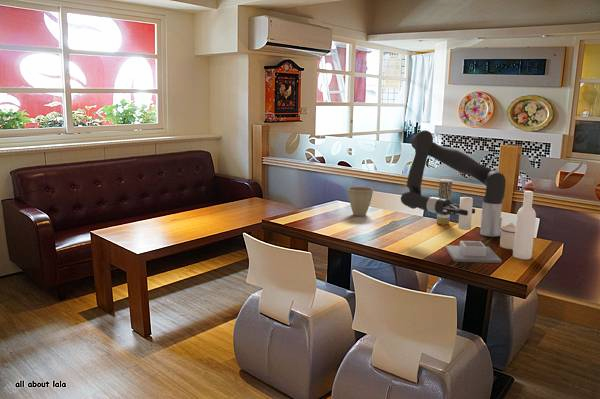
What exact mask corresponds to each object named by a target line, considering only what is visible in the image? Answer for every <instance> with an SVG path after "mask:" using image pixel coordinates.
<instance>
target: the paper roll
mask: <svg viewBox="0 0 600 399" xmlns="http://www.w3.org/2000/svg"><path fill="white" fill-rule="evenodd" d="M473 200H474V198H473V197H469V196H462V197H461V196H460V197H459V204H460V209H462V210H467V211H468V215H467V216H465V215H461V214H459V215H458V227H457V228H458V229H459V230H463V231H469V230H471V228H472V216H473V213H472V208H473Z"/></svg>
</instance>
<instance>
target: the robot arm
mask: <svg viewBox="0 0 600 399" xmlns="http://www.w3.org/2000/svg"><path fill="white" fill-rule="evenodd" d="M410 145H411V147H412V148H413V149H414V150H415V153H414V158H413V161H412V163H411V166H410V168H409V172H408V175H407V181H406V187H407V188H408V190H409V191H405V192H403V193H402V194H401V195H400V196H401V197H400V202H401V203H402V204H403V205H404V206H406V207H408V208H410V209H412V210H413V209H419V210H422V211H425V212H429V213H430V212H431V213H433V214H436V215H437V214H442V215H448V214H450V215H454V216H456V215H458V216H459V214H461V215H465V216H467V215H468V211H467V210H462V209H460V203H458V204H457V203H452V200H451V201H450V200H448V199H443V198H438V196H437V197H436V196H429V195H423V194H422V183H423V178H424V177H423V176H424V171H425V167H426V164H427V159H428V156H429V157H431V158H433V159H435V160H436V161H438V162H441V163H442V164H443V165H446V166H447V167H449V168H451V169H453V170H454V171H457V172H458V173H462V174H464V175H467V176H470V177H472V178H474V179H476V180H477V181H479V182H480V183H482V184H483V185H485V186H486V188H485V194H484V196H483V199H482V207H481V209H482V210H481V219H480V220H481V221H480V230H479V233H480V235H482V236H485V237H501V228H502V221H503V218H502V207H503V199H504V197H505V193H506V185H507V184H506V177H505V175H504V174H503V173H501V172H500V171H497V170H494V169H491V168H489V167H487V166H484V165H483V164H481V163H478V162H477V161H476V160H474V158H472V157H471V156H469V155H467V154H466V153H464V152H462V151H460V150H458V149H454V148H451V147H447V146H442V145H440V144H437V143H435V142H434V136H433V133H431V132H430V131H429V130H425V129H424V130H421V131H420V130H419V132H417V133H416V134H414V136H412V137H411V140H410ZM475 213H476V208H474V207H472V215H473V214H475Z"/></svg>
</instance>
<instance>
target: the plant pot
mask: <svg viewBox="0 0 600 399" xmlns="http://www.w3.org/2000/svg"><path fill="white" fill-rule="evenodd" d="M347 191H348V198H349V203H350V207H351V212H352V215H353V216H355V217H365V216H366V215H367V212H368V210H369V208H370V204H371V202H372V197H373V193H374V192H373V191H374V189H373V188H372V187H367V186H350V187H348V189H347Z"/></svg>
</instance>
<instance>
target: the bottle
mask: <svg viewBox="0 0 600 399" xmlns="http://www.w3.org/2000/svg"><path fill="white" fill-rule="evenodd" d="M533 200H534V191H531V190H524V193H523V202H522V206H521V207H520V208H519V209H518V211H517V212H516V220H515V226H516V228H515V238H514V248H513V249H512V256H513V257H514V258H515V259H516V258H517V259H519V260H530V259H532V256H533V248H534V247H533V246H534V238H535V237H534V236H535V229H536V220H537V214H536V210H535V209H534V208H533Z"/></svg>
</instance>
